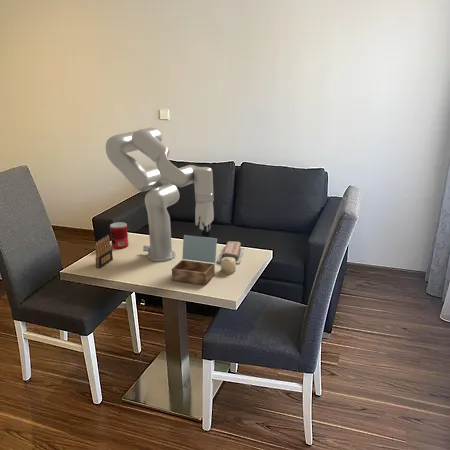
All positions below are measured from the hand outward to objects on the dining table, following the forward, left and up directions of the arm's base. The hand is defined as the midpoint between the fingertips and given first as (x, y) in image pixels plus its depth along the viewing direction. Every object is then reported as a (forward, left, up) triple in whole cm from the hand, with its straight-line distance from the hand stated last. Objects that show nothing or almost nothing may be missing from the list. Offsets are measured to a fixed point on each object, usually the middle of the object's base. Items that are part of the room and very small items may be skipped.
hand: (206, 239), depth 201 cm
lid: (-1, -7, -2) cm, 7 cm away
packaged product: (+6, +14, -13) cm, 20 cm away
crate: (-1, -13, -12) cm, 18 cm away
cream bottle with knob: (+10, -2, -12) cm, 16 cm away
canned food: (-49, +10, -12) cm, 51 cm away
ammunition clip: (-44, -11, -12) cm, 47 cm away
